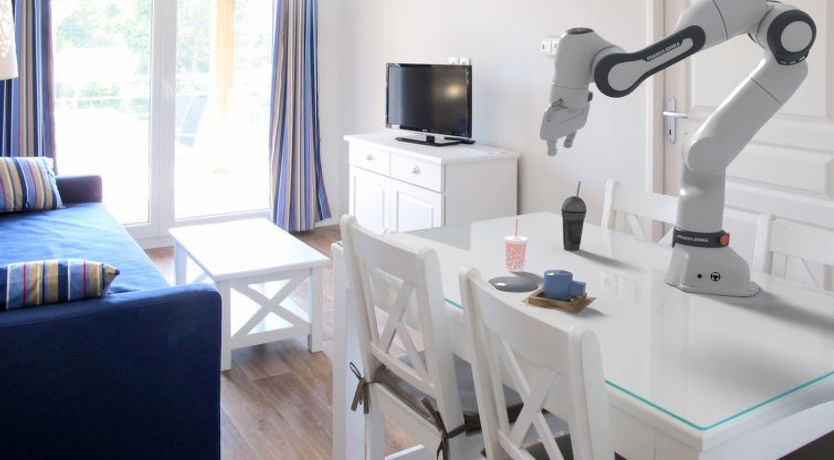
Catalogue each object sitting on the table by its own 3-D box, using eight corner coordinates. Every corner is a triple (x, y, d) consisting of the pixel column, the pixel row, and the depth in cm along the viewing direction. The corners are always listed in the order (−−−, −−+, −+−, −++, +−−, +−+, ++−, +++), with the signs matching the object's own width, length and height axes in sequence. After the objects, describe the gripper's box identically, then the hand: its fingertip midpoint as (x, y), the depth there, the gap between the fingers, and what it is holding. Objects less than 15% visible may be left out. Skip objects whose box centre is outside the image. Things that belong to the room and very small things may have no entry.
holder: (595, 300, 208) (596, 292, 207) (577, 316, 196) (577, 307, 195) (539, 291, 214) (539, 283, 214) (518, 306, 202) (518, 297, 201)
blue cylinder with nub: (538, 301, 203) (540, 274, 202) (548, 295, 209) (549, 268, 208) (578, 308, 199) (580, 280, 198) (587, 301, 205) (589, 274, 203)
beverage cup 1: (517, 267, 236) (519, 216, 233) (530, 273, 230) (533, 220, 227) (498, 269, 233) (500, 217, 230) (511, 275, 227) (513, 222, 224)
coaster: (543, 284, 220) (544, 280, 219) (526, 296, 209) (526, 292, 209) (499, 277, 225) (499, 274, 225) (480, 289, 215) (480, 285, 214)
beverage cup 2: (557, 245, 261) (561, 178, 256) (582, 246, 260) (586, 179, 256) (560, 251, 254) (564, 183, 249) (585, 252, 253) (590, 183, 249)
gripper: (562, 106, 202) (553, 163, 207) (596, 92, 218) (587, 146, 224) (537, 100, 205) (529, 157, 210) (572, 87, 221) (564, 140, 227)
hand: (559, 151), depth 217 cm, fingers open, 8 cm apart
